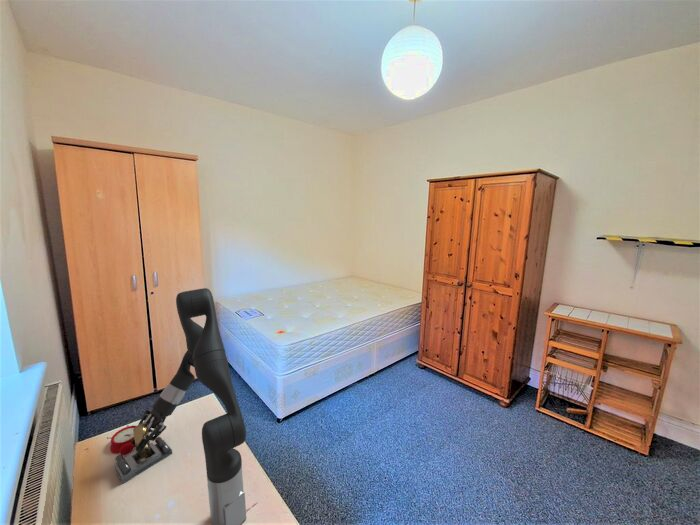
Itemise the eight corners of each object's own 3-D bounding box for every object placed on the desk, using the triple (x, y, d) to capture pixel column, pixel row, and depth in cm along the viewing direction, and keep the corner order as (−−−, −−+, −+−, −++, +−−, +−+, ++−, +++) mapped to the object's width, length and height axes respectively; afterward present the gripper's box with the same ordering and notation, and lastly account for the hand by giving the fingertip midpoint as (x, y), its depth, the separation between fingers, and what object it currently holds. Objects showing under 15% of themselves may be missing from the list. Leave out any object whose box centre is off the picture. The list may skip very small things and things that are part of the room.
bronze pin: (152, 453, 103) (148, 426, 101) (139, 460, 100) (135, 433, 98) (148, 447, 105) (144, 421, 103) (135, 454, 102) (131, 428, 100)
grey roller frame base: (172, 454, 106) (171, 442, 105) (123, 484, 94) (121, 471, 93) (163, 442, 111) (161, 431, 110) (114, 470, 99) (112, 458, 98)
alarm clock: (131, 421, 118) (152, 425, 111) (134, 435, 118) (156, 439, 112) (101, 439, 108) (122, 444, 102) (105, 454, 109) (126, 460, 102)
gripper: (153, 388, 109) (118, 435, 101) (169, 403, 100) (132, 456, 93) (170, 394, 114) (138, 439, 107) (186, 408, 106) (153, 459, 98)
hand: (135, 446), depth 100 cm, fingers closed on bronze pin, 4 cm apart
